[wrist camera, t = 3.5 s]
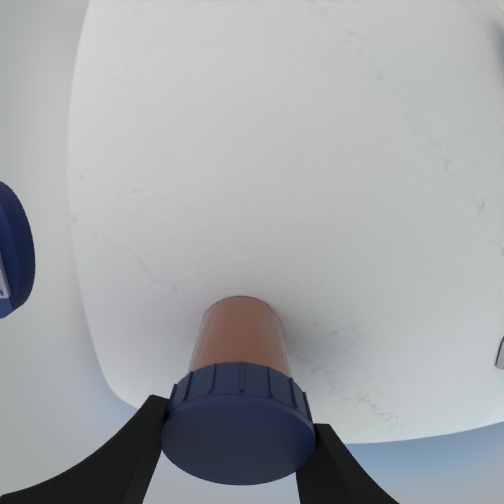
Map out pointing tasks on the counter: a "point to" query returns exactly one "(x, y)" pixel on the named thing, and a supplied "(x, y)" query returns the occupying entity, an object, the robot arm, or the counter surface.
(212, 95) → the counter surface
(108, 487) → the robot arm
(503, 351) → the flask
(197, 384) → the lid
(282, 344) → the jar
